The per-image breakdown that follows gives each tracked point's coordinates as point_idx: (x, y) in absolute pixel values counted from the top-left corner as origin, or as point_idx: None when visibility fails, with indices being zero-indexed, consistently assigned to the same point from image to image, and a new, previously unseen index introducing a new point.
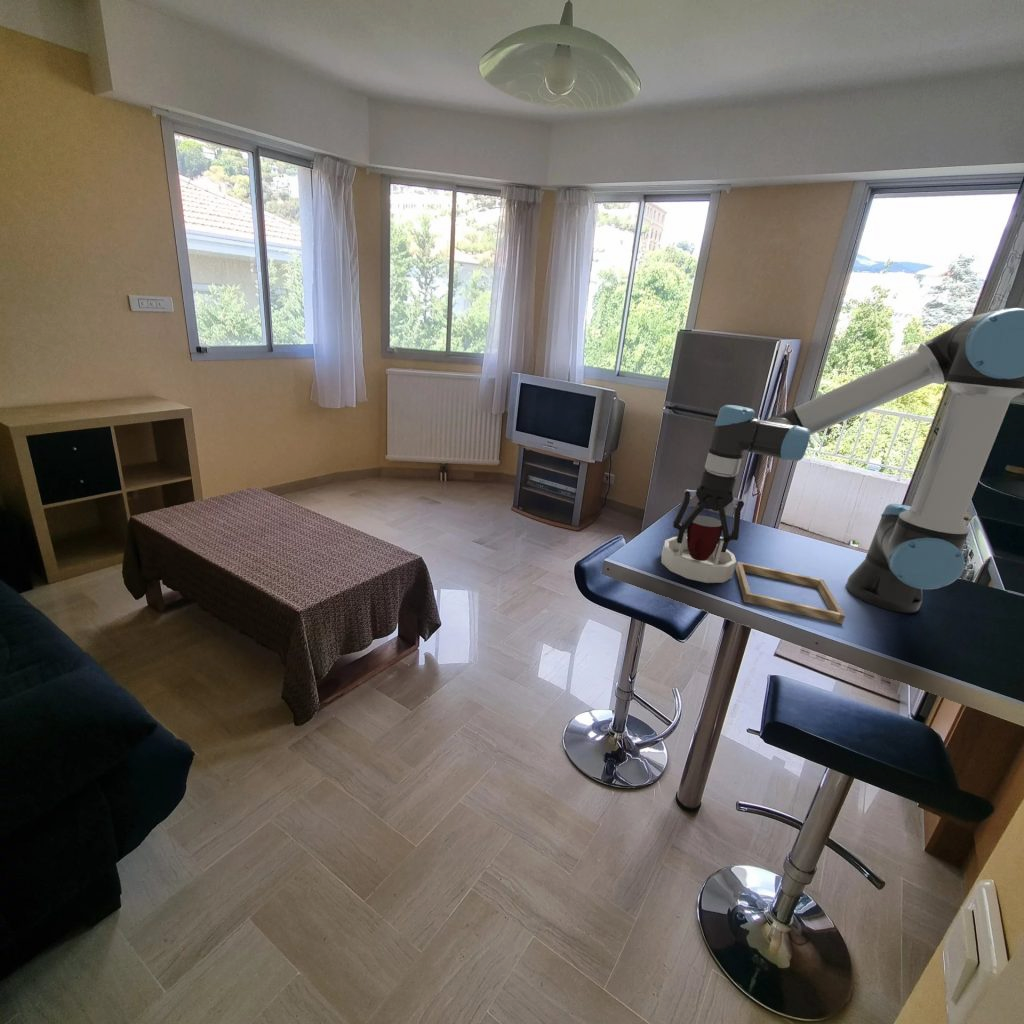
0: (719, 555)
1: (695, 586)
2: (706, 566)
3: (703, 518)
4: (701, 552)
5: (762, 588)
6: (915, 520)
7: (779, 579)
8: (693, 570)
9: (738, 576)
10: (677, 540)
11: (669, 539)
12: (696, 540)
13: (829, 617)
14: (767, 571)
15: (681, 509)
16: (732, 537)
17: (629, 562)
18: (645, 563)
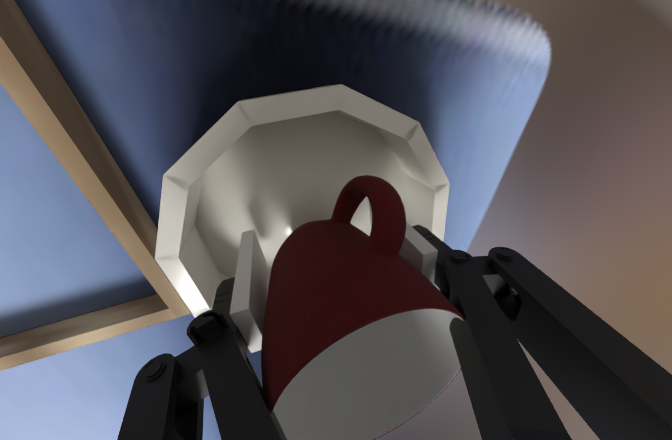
0: (239, 255)
1: (276, 20)
2: (262, 97)
3: (382, 412)
4: (315, 224)
5: (34, 215)
6: None
7: (34, 328)
8: (313, 88)
9: (156, 235)
10: (425, 229)
11: None
12: (375, 209)
13: None
14: (72, 331)
15: (637, 356)
16: (181, 367)
17: (505, 86)
18: (458, 118)
